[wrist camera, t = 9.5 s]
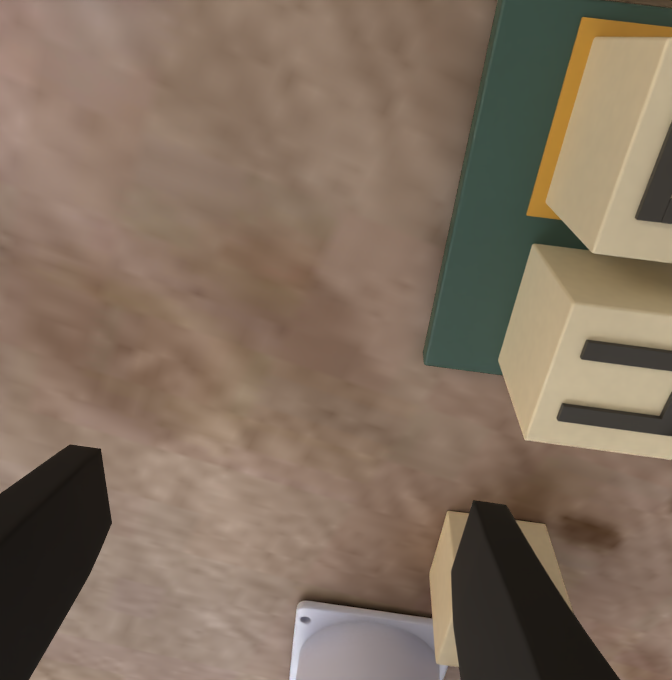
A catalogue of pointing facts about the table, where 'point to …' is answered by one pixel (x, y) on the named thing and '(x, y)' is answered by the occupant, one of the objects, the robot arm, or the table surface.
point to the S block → (620, 151)
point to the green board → (516, 166)
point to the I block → (442, 578)
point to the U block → (592, 352)
